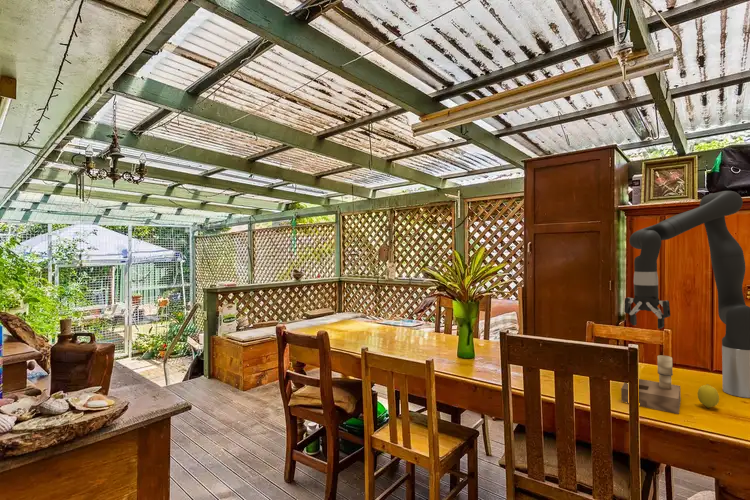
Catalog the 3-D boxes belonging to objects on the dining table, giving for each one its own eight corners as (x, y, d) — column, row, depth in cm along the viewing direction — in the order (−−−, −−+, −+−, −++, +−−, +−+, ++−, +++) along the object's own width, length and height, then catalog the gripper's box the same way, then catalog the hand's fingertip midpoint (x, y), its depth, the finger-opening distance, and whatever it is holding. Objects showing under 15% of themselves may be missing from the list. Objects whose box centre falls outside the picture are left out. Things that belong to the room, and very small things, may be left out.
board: (680, 399, 138) (680, 385, 138) (678, 414, 127) (678, 398, 127) (627, 389, 149) (627, 376, 149) (621, 402, 137) (621, 388, 137)
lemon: (697, 403, 135) (697, 380, 135) (718, 407, 132) (718, 383, 132) (697, 408, 131) (697, 385, 131) (719, 412, 127) (719, 388, 127)
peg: (673, 387, 137) (672, 356, 137) (672, 391, 134) (672, 359, 134) (658, 384, 140) (657, 354, 140) (657, 388, 136) (656, 357, 136)
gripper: (672, 284, 141) (673, 328, 141) (629, 281, 153) (630, 322, 153) (663, 285, 137) (665, 331, 137) (620, 283, 149) (621, 325, 149)
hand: (646, 326), depth 145 cm, fingers open, 8 cm apart
